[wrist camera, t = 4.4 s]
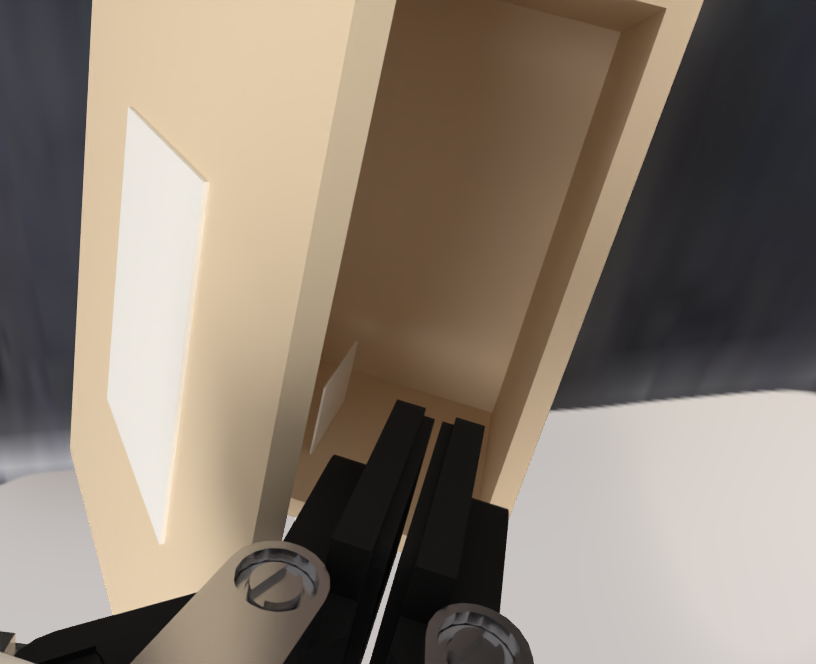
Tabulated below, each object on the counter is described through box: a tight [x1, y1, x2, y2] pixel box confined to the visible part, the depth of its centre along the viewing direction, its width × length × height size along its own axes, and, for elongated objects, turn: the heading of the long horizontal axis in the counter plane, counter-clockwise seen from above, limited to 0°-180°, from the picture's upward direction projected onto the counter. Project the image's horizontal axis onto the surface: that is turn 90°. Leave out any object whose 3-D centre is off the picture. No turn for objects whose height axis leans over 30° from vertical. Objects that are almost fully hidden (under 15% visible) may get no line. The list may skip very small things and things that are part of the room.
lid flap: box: [70, 0, 396, 615], centre depth 16 cm, size 16×20×1 cm
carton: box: [287, 0, 704, 552], centre depth 28 cm, size 16×24×12 cm, turn 166°
